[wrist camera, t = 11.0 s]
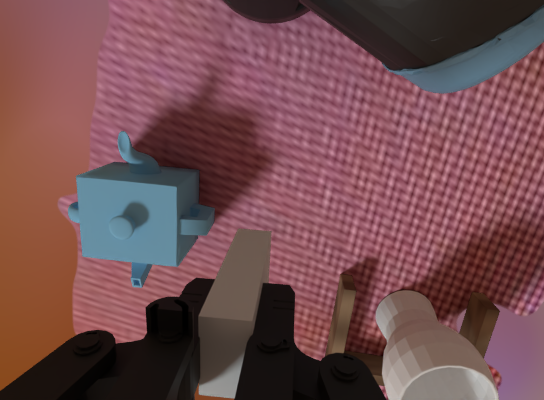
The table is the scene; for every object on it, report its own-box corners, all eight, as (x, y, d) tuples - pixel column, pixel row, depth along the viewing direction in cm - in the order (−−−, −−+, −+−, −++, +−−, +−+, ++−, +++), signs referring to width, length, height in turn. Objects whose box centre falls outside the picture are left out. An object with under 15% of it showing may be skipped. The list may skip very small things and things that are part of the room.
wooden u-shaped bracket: (340, 273, 48) (344, 289, 44) (483, 293, 47) (499, 310, 43) (324, 356, 52) (327, 377, 48) (456, 375, 51) (469, 398, 47)
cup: (459, 298, 48) (528, 385, 33) (419, 357, 51) (467, 461, 36) (387, 268, 47) (426, 344, 33) (351, 330, 50) (373, 424, 36)
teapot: (108, 250, 50) (55, 293, 39) (100, 118, 44) (37, 125, 34) (220, 262, 49) (198, 309, 38) (226, 129, 44) (202, 140, 33)
